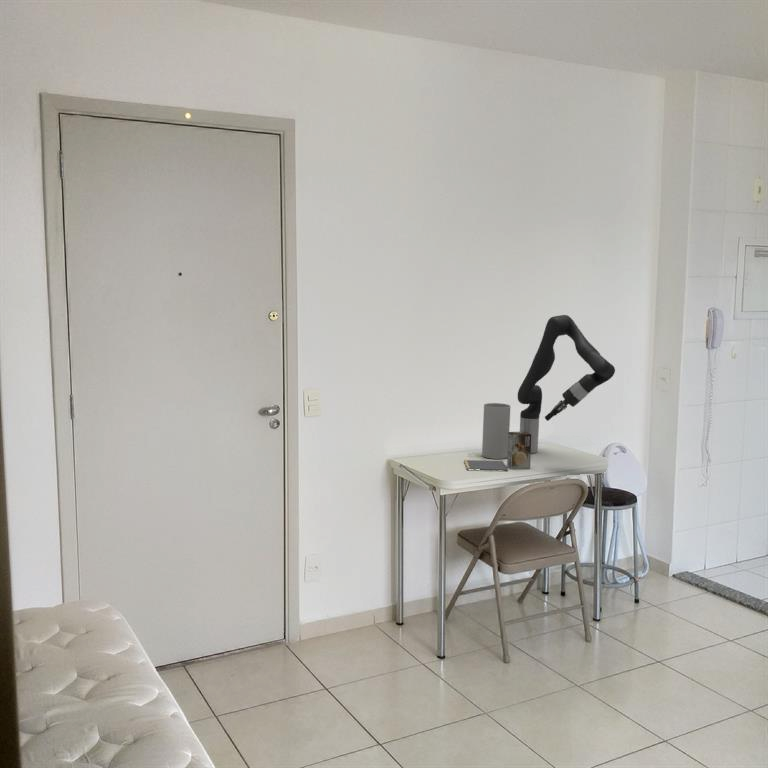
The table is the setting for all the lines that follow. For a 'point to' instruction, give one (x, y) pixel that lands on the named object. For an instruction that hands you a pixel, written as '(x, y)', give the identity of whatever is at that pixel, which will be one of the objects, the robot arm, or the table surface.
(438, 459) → the table surface
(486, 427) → the cylinder vase
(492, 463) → the mat
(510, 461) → the coffee box
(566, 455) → the table surface
